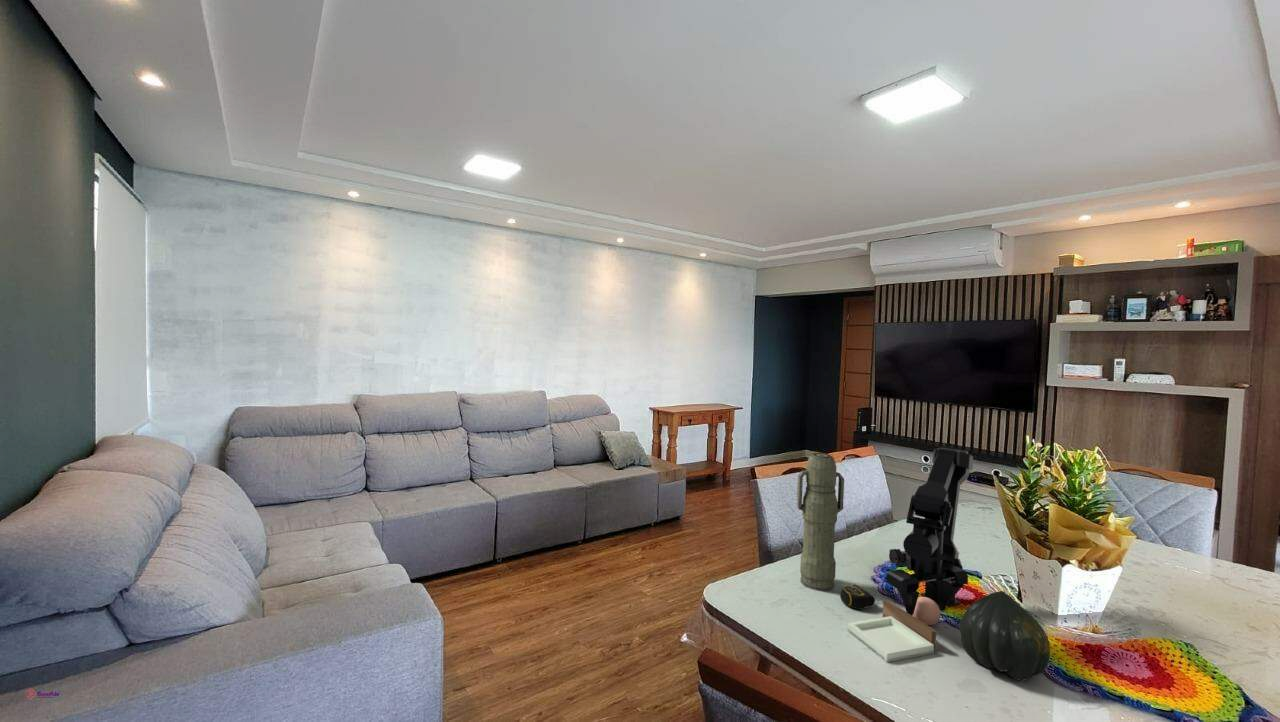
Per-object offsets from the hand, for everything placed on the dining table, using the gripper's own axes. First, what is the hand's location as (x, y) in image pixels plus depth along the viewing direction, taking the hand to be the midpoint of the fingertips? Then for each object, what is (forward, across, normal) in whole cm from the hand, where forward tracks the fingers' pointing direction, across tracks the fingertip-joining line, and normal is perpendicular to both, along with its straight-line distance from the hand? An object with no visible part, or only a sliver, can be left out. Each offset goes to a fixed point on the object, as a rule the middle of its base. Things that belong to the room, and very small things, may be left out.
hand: (925, 613), depth 122 cm
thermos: (+3, +12, -24) cm, 27 cm away
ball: (+2, 0, 0) cm, 2 cm away
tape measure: (+3, +9, -12) cm, 16 cm away
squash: (+3, -2, +17) cm, 17 cm away
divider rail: (+2, +7, +2) cm, 8 cm away
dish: (+2, +14, +4) cm, 15 cm away
